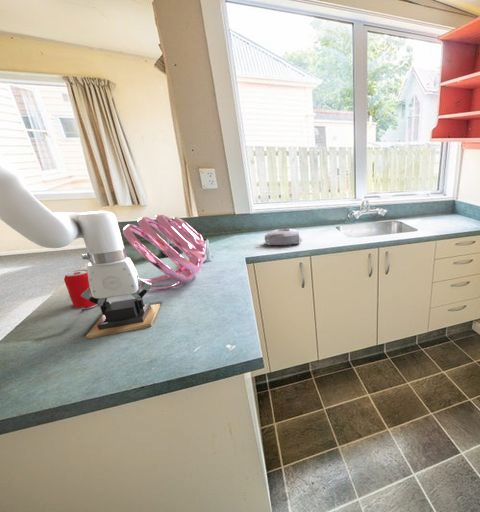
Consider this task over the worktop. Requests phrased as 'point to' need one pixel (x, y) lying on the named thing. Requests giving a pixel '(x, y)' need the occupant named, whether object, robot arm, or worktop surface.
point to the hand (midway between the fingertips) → (125, 313)
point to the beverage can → (78, 288)
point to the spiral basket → (169, 247)
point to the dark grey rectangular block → (121, 310)
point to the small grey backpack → (282, 237)
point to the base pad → (125, 322)
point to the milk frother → (169, 243)
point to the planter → (207, 250)
